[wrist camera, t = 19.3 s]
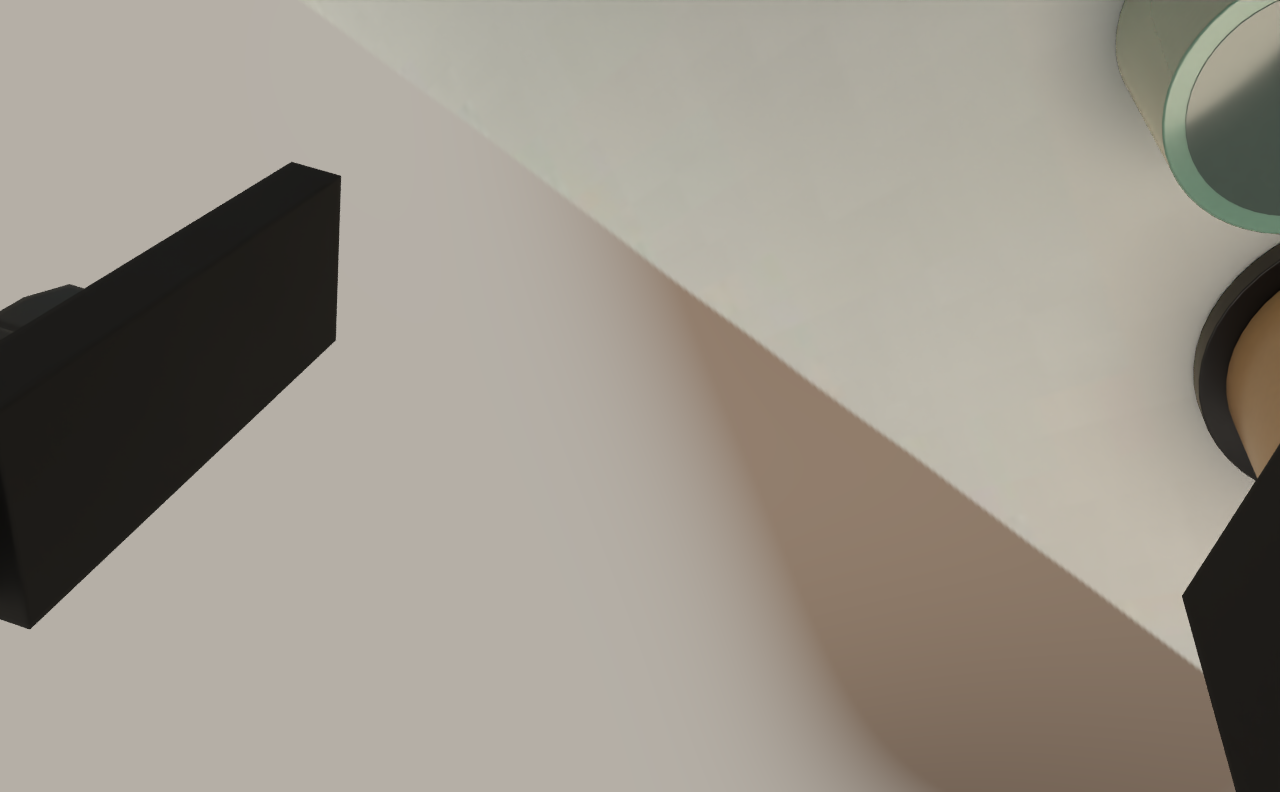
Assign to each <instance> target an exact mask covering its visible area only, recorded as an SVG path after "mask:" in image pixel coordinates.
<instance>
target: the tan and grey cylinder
mask: <svg viewBox="0 0 1280 792" xmlns="http://www.w3.org/2000/svg"><path fill="white" fill-rule="evenodd" d="M1194 388H1195V393H1196V398H1197V402H1198V405H1199V408H1200V410H1201V413H1202V416H1203V418H1204V421H1205V424H1206V426H1207V429H1208V431H1209V433H1210V435H1211V436H1212V438H1213V440H1214V441H1215V443H1216V445H1217V446H1218V447H1219V449H1220V450H1221V451H1222V452H1223V453H1224V455H1225V456H1226V457H1227V458H1228V459H1229V460H1230V461H1231V462H1232V463H1233V464H1234V465H1235V466H1236V467H1238V468H1239V469H1240V470H1241V471H1242V472H1243V473H1245V474H1246V475H1248V476H1249V477H1251V478H1252V479H1254V480H1255V481H1256V480H1257V478H1258V477H1259V475H1260V474H1261V472H1262V470H1263V469H1264V467H1265V466H1266V464H1267V463H1268V461H1269V460H1270V458H1271V456H1272V455H1273V453H1274V452H1275V450H1276V449H1277V447H1278V445H1279V444H1280V244H1279V245H1277V246H1276V247H1274V248H1272V249H1271V250H1270V251H1268V252H1267V253H1266V254H1264V255H1263V256H1262V257H1260V258H1259V259H1258V260H1256V261H1255V262H1254V263H1252V264H1251V265H1250V266H1249V267H1248V268H1247V269H1246V270H1245V271H1244V272H1243V273H1242V274H1241V275H1240V276H1238V277H1237V278H1236V279H1235V281H1234V282H1233V283H1232V284H1231V285H1230V287H1229V288H1228V289H1227V290H1226V291H1225V292H1224V294H1223V295H1222V296H1221V298H1220V299H1219V301H1218V302H1217V304H1216V305H1215V307H1214V308H1213V310H1212V311H1211V313H1210V315H1209V317H1208V319H1207V321H1206V323H1205V325H1204V328H1203V330H1202V332H1201V335H1200V338H1199V342H1198V345H1197V348H1196V354H1195V361H1194Z"/></svg>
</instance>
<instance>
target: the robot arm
mask: <svg viewBox="0 0 1280 792" xmlns="http://www.w3.org/2000/svg"><path fill="white" fill-rule="evenodd" d="M340 191H341V176H340V175H336V174H333V173H329V172H325V171H322V170H318V169H315V168H311V167H307V166H304V165H301V164H297V163H294V162H291V163H289V164H287V165H286V166H284V167H282V168H281V169H279V170H277V171H276V172H274V173H273V174H271V175H270V176H268V177H266V178H264V179H263V180H261V181H260V182H258V183H257V184H255V185H253V186H251V187H250V188H248V189H247V190H245V191H243V192H242V193H240V194H238V195H237V196H235V197H234V198H232V199H230V200H229V201H227V202H225V203H224V204H222V205H220V206H219V207H217V208H216V209H214V210H212V211H211V212H209V213H207V214H206V215H204V216H202V217H201V218H199V219H197V220H196V221H194V222H192V223H191V224H189V225H188V226H186V227H184V228H183V229H181V230H179V231H178V232H176V233H175V234H173V235H171V236H170V237H168V238H166V239H165V240H163V241H161V242H160V243H158V244H157V245H155V246H153V247H152V248H150V249H149V250H147V251H145V252H143V253H142V254H140V255H139V256H137V257H135V258H134V259H132V260H130V261H129V262H127V263H126V264H124V265H122V266H121V267H119V268H117V269H116V270H114V271H113V272H111V273H109V274H108V275H106V276H104V277H103V278H101V279H99V280H98V281H96V282H94V283H93V284H91V285H89V286H88V287H86V288H85V289H84V288H80V287H77V286H74V285H70V284H69V285H65V286H62V287H58V288H55V289H52V290H48V291H45V292H41V293H37V294H34V295H30V296H27V297H24V298H22V299H20V300H19V301H17V302H15V303H13V304H12V305H10V306H8V307H6V308H5V309H3V310H2V311H0V619H1V620H4V621H7V622H10V623H13V624H16V625H19V626H21V627H24V628H27V629H31V628H32V627H33V626H34V625H35V624H36V623H37V622H38V621H39V620H40V619H41V618H43V617H44V615H46V614H47V613H48V612H49V611H50V610H51V609H52V608H53V607H54V606H55V605H56V604H57V603H58V602H59V601H60V600H61V599H63V598H64V597H65V596H66V595H67V594H68V593H69V592H70V591H71V590H72V589H73V588H74V587H75V586H76V585H77V584H78V583H80V582H81V580H83V579H84V578H85V577H86V576H87V575H88V574H89V573H90V572H91V571H92V570H93V569H94V568H95V567H96V566H98V565H99V564H100V562H102V561H103V560H104V559H105V558H106V557H107V556H108V555H109V554H110V553H111V552H112V551H113V550H114V549H115V548H116V547H117V546H119V545H120V544H121V543H122V542H123V541H124V540H125V539H126V538H127V537H128V536H129V535H130V534H131V533H132V532H133V531H134V530H136V529H137V528H138V527H139V526H140V525H141V524H142V523H143V522H144V521H145V520H146V519H147V518H148V517H149V516H150V515H151V514H152V513H154V512H155V511H156V510H157V509H158V508H159V507H160V506H161V505H162V504H163V503H164V502H165V501H166V500H167V499H168V498H169V497H170V496H171V495H173V494H174V493H175V492H176V491H177V490H178V489H179V488H180V487H181V486H182V485H183V484H184V483H185V482H186V481H187V480H188V479H189V478H191V477H192V476H193V475H194V474H195V473H196V472H197V471H198V470H199V469H200V468H201V467H202V466H203V465H204V464H205V463H206V462H207V461H209V459H211V457H213V456H214V455H215V454H216V453H217V452H218V451H219V450H220V449H221V448H222V447H223V446H224V445H225V444H226V443H228V442H229V441H230V440H231V439H232V438H233V437H234V436H235V435H236V434H237V433H238V432H239V431H240V430H241V429H242V428H243V427H244V426H245V425H247V424H248V423H249V422H250V421H251V420H252V419H253V418H254V417H255V416H256V415H257V414H258V413H259V412H260V411H261V410H262V409H264V407H266V406H267V405H268V404H269V403H270V402H271V401H272V400H273V399H274V398H275V397H276V396H277V395H278V394H279V393H280V392H281V391H282V390H283V389H285V388H286V387H287V386H288V385H289V384H290V383H291V382H292V381H293V380H294V379H295V378H296V377H297V376H298V375H299V374H301V373H302V372H303V371H304V370H305V369H306V368H307V367H308V366H309V365H310V364H311V363H312V362H313V361H314V360H315V359H316V358H317V357H319V355H320V354H322V353H323V352H324V351H325V350H326V349H327V348H328V347H329V346H330V345H331V344H332V343H333V342H334V341H335V340H336V316H337V315H336V314H337V285H338V284H337V283H338V252H339V221H340ZM1182 598H1183V602H1184V605H1185V609H1186V613H1187V616H1188V620H1189V623H1190V627H1191V631H1192V634H1193V638H1194V641H1195V645H1196V649H1197V652H1198V656H1199V660H1200V663H1201V667H1202V670H1203V674H1204V678H1205V681H1206V685H1207V689H1208V692H1209V696H1210V699H1211V703H1212V707H1213V710H1214V714H1215V717H1216V721H1217V725H1218V728H1219V732H1220V735H1221V739H1222V742H1223V746H1224V750H1225V754H1226V757H1227V761H1228V764H1229V768H1230V772H1231V775H1232V779H1233V783H1234V786H1235V790H1236V792H1280V444H1279V445H1278V447H1277V449H1276V450H1275V452H1274V453H1273V455H1272V456H1271V458H1270V460H1269V461H1268V463H1267V464H1266V466H1265V467H1264V469H1263V470H1262V472H1261V474H1260V475H1259V477H1258V478H1257V480H1256V481H1255V483H1254V484H1253V486H1252V488H1251V489H1250V491H1249V492H1248V494H1247V495H1246V497H1245V498H1244V500H1243V502H1242V503H1241V505H1240V506H1239V508H1238V509H1237V511H1236V513H1235V514H1234V516H1233V517H1232V519H1231V520H1230V522H1229V523H1228V525H1227V527H1226V528H1225V530H1224V531H1223V533H1222V534H1221V536H1220V537H1219V539H1218V541H1217V542H1216V544H1215V545H1214V547H1213V548H1212V550H1211V552H1210V553H1209V555H1208V556H1207V558H1206V559H1205V561H1204V562H1203V564H1202V566H1201V567H1200V569H1199V570H1198V572H1197V573H1196V575H1195V576H1194V578H1193V580H1192V581H1191V583H1190V584H1189V586H1188V587H1187V589H1186V590H1185V592H1184V594H1183V595H1182Z"/></svg>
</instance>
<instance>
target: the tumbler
mask: <svg viewBox="0 0 1280 792" xmlns="http://www.w3.org/2000/svg"><path fill="white" fill-rule="evenodd" d="M1116 57H1117V62H1118V67H1119V71H1120V74H1121V76H1122V79H1123V82H1124V84H1125V85H1126V87H1127V89H1128V91H1129V93H1130V95H1131V97H1132V99H1133V100H1134V102H1135V104H1136V106H1137V108H1138V110H1139V112H1140V113H1141V115H1142V117H1143V119H1144V121H1145V123H1146V125H1147V127H1148V128H1149V130H1150V132H1151V134H1152V136H1153V138H1154V140H1155V142H1156V143H1157V145H1158V147H1159V149H1160V151H1161V153H1162V155H1163V156H1164V158H1165V160H1166V162H1167V164H1168V166H1169V168H1170V170H1171V171H1172V173H1173V175H1174V177H1175V179H1176V181H1177V182H1178V184H1179V185H1180V187H1181V188H1182V189H1183V190H1184V192H1185V193H1186V194H1187V196H1188V197H1189V198H1191V199H1192V200H1193V201H1194V202H1195V203H1196V204H1197V205H1198V206H1199V207H1200V208H1202V209H1203V210H1205V211H1206V212H1208V213H1209V214H1211V215H1212V216H1214V217H1216V218H1218V219H1220V220H1222V221H1224V222H1226V223H1228V224H1231V225H1234V226H1237V227H1239V228H1242V229H1246V230H1251V231H1256V232H1261V233H1271V234H1280V0H1125V2H1124V5H1123V8H1122V11H1121V13H1120V17H1119V22H1118V26H1117V33H1116Z"/></svg>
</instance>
